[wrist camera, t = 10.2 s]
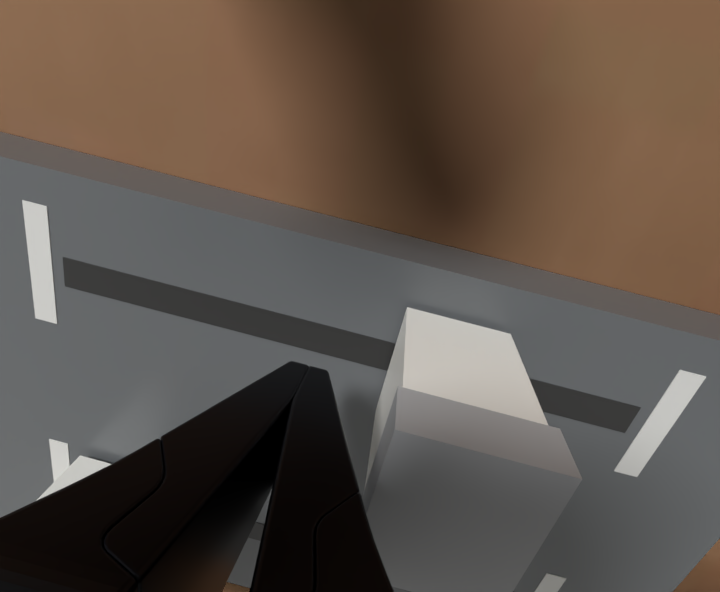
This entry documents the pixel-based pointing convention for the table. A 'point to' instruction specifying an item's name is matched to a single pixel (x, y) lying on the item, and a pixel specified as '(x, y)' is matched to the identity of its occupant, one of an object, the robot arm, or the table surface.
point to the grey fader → (461, 461)
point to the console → (334, 349)
